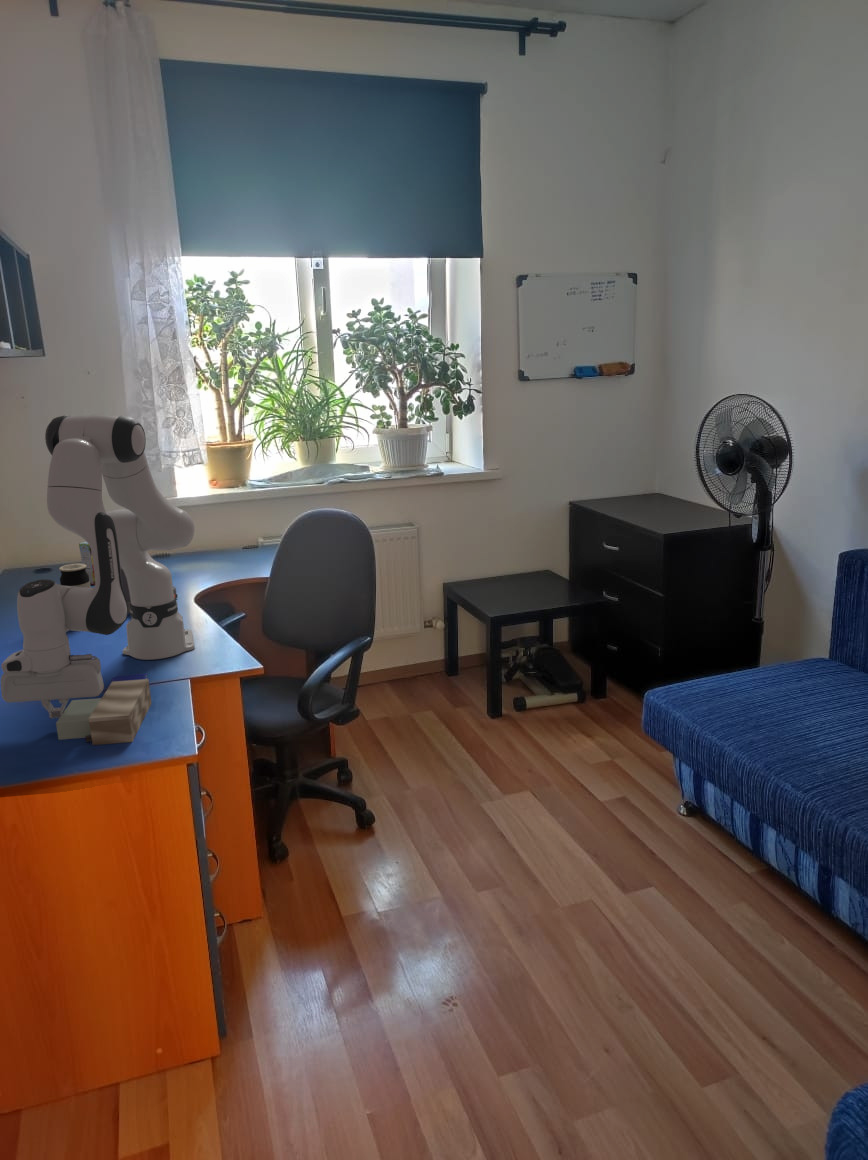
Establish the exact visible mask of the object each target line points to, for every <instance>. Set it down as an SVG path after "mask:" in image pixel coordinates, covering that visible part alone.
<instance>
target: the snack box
mask: <svg viewBox="0 0 868 1160" xmlns="http://www.w3.org/2000/svg"><path fill="white" fill-rule="evenodd" d="M78 546H79V547H78V549H79V553H80V558H81V559H80V560H81V564H85V565H86V572H87V574H88V575H89V580H90V585H92V586H95V575H94V566H93V557H92V551H91V548H90V546H89V544H88V543H87V542H86V541H83V542H80V543H78Z"/></svg>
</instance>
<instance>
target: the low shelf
mask: <svg viewBox="0 0 868 1160" xmlns="http://www.w3.org/2000/svg"><path fill="white" fill-rule="evenodd" d="M109 685H110V686H108V688H107V689H106V691H105V692H104V694H103V695H102V697H100V698H101V700H100V702H99V703H98V705H97V706H96V708H95V709H94V711H93V712H92V714H91V716H90V717H89V724H90V731H91V735H88V736H85V738H84V739H85V742H86V743H89V742H91V744H92V746H95V745H96V746H97V745H99V746H100V745H111V744H122V743H124V744H125V743H133V742H134V739H135V737H136V736H137V734H138V731H139V729H140V728H141V725H142V723H143V722H144V720H145V718H146V715H147V713H148V712H149V710H150V707H151V706H152V697H151V696H152V695H151V689H150V680H149V678H146V679H141V680H127V681H114V682H112V683H111V684H110V683H109Z"/></svg>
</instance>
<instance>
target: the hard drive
mask: <svg viewBox="0 0 868 1160" xmlns="http://www.w3.org/2000/svg"><path fill="white" fill-rule="evenodd" d="M146 677H148V674H147V673H136V674H127V675H118V676H113V677H112V678H111V680H110V683H109V686H110V684H111V683H112V682H114V681H127V680H141V679H147V678H146ZM109 686H108V687H109Z"/></svg>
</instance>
